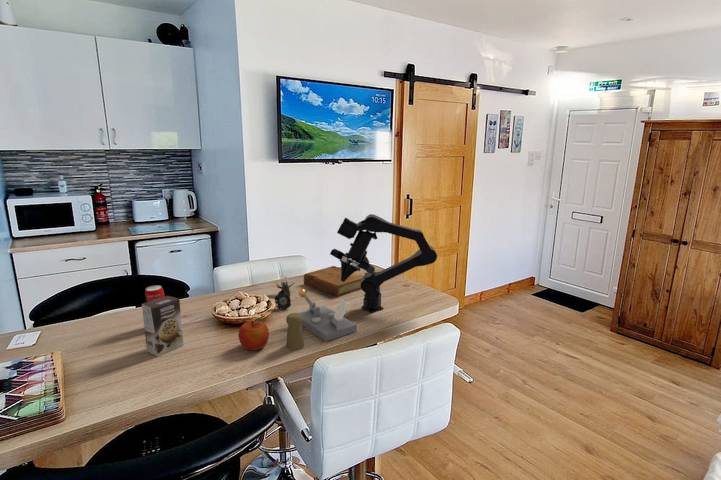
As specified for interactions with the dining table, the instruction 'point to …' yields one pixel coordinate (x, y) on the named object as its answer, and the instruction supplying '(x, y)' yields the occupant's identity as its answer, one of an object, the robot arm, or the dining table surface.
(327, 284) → the diary
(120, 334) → the dining table surface
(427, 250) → the robot arm
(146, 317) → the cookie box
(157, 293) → the beverage can
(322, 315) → the switch panel
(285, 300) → the artificial flower
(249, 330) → the fruit
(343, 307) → the cream paddle switch
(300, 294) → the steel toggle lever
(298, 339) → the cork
